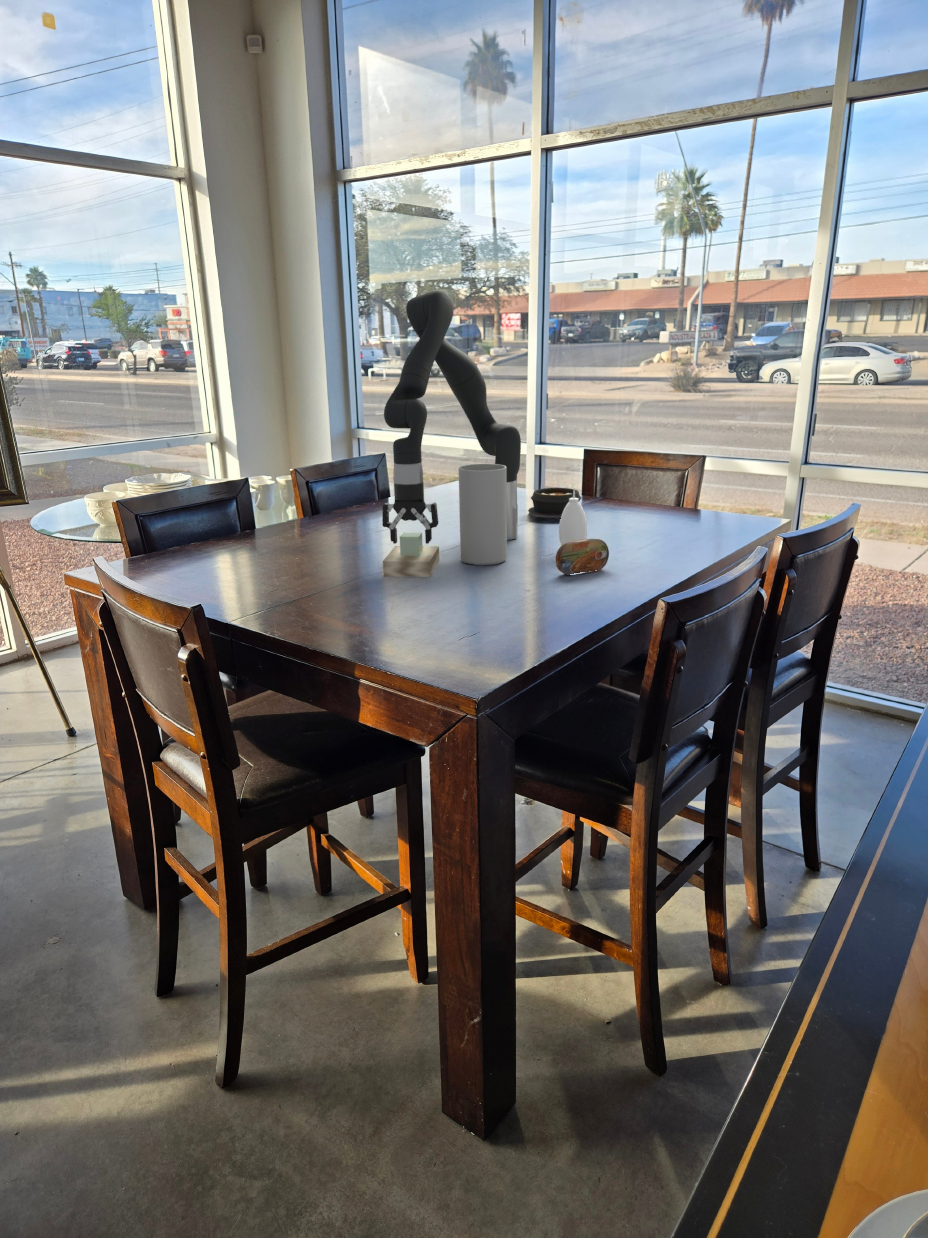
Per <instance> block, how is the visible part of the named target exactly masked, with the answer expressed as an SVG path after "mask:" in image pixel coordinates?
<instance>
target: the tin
mask: <svg viewBox="0 0 928 1238" xmlns="http://www.w3.org/2000/svg"><path fill="white" fill-rule="evenodd" d="M609 557H610V551H609V546H608V545H607V543H606V542H605V541H604V540H602V539H599V538H587V539H586V540H580V541H574V542H568V543H565V544H563V545H561V546H560V547H559V548H558V549H557V551H556V554H555V565H556V568H557V569H558V571H559V572H561V574H564V575H567V576H569V575H570V574H574V573H580V572H589V571H595V570H599V571H601V570H602V569H603V568H605V566H606V565H607V563H608V560H609Z"/></svg>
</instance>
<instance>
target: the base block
mask: <svg viewBox="0 0 928 1238" xmlns="http://www.w3.org/2000/svg"><path fill="white" fill-rule="evenodd" d="M439 562H440V546H439V545H437V546H436V545H431V546H430V545H428V546H427V545H423V552H422V553H421V555H420V556H401V555H400V545H395V546H394V547H392V549H391V550H390V552H389V553H388V554H387V555H386V556H385V558H384V559H383V560H382V566H383V567H382V570H383V573H382V575H383V577H394V578H396V577H399V578H401V577H403V578H404V577H405V578H412V577H413V578H414V577H417V578H430V577H431V576H432V574H433V573H434V571H435V569H436V567H437V566H438V564H439Z"/></svg>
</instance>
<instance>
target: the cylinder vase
mask: <svg viewBox="0 0 928 1238" xmlns="http://www.w3.org/2000/svg"><path fill="white" fill-rule="evenodd" d="M458 494H459V495H458V497H459V500H458V503H459V506H458V507H459V508H458V509H459V543H460V544H459V545H460V546H459V548H460V549H459V550H460V560H461V561H462V562H463V563H465V564H467V563H468V565H471V564H473V566H493V565H499V564H501V563H504V562H505V561H506V560H507V557H508V555H507V553H508V544H507V542H508V540H507V477H506V466H504V465H499V464H495V463H473V464H465V465H460V466H458Z"/></svg>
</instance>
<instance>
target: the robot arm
mask: <svg viewBox="0 0 928 1238" xmlns="http://www.w3.org/2000/svg"><path fill="white" fill-rule="evenodd" d="M405 308H406V310H405V311H406V316H407V319H408V322H409V324H410V326H411V327H412V329H413V330H414V332H415V334H416V335H417V337H418V338H419V339H418V341H417V342H416V344H415V345H414V346H413V348H412V349H411V350H410V352H409V353H408V355H407V357H406V359H405V361H404V364H403V366H402V369H401V370H402V371H401V374H400V377H399V382H398V383H397V385H396V386H395V388H394V389H393V392H392V393H391V395H390V396H389V397H388V399H387V401H386V404H385V406H384V410H383V418H384V421H385V423H386V425H387V426H388V427H389V428H391V429H406V430H407V429H409V434H408V435H407V436H406V437H401V438H398V439H397V438H396V439H395V440H394V441H393V442H392V443H393V444H392V449H393V451H392V452H393V474H392V475H393V476H392V477H393V478H392V479H393V493H394V494H393V495H394V502H393V503H389V502H385V503H384V504H383V505H382V514H381V515H382V527H383V528H387V529H389V532H390V533H389V535H390V541H391V542H392V543H393V544H394V545H395V544H397V543H398V528H397V525H398V523H399V522H400V521H401V520H402V521H404V522H406V521H413V522H414V521H415V522H416V521H419V522H420V523H421V524H422V526H423V527H424V528H425V530H424V538H425V541H424V542H425V544H427V545H428V544H429V543H430V542H431V541H432V539H433V536H432V534H433V532H432V531H433V530H432V529H434V528H437V527H438V525H439V514H438V506H437V505H438V504H437V502H435V501H434V502H432V503H426V502H425V487H424V469H423V462H422V461H423V460H422V443H423V442H422V441H423V436H424V431H425V428H426V423H427V418H428V410H427V406H426V405H425V403H424V401H422V400H421V398H423V397H424V396H425V394H426V391H427V389H428V385H429V380H430V377H431V376H430V375H431V372H432V368H433V366H434V362H435V363H436V365H437V366H438V368H439V370H440V371H441V373H442V375H443V376H444V379H445V380H446V382H447V385H448V386H449V388H450V389H451V391H452V393H453V395H454V396H455V399H456V400H457V401H458V403H459V405H460V406H461V409H462V410H463V412H464V414H465V416H466V418H467V419H468V421H469V423H470V426H471V427H472V429H473V432H474V435H475V437H476V439H477V441H478V442H477V443H479V445H480V448H481V450H483V452H484V453H486V454H487V455H489V456H492V457H494V458H495V459H494V464H499V465H504V466H506V477H507V541H508V540H517V538H518V530H519V529H518V524H519V523H518V512H519V511H518V474H519V471H520V466H521V452H522V451H521V448H522V439H521V435H520V431H519V429H517V427H516V426H514V425H510V424H503V423H498V422H497V421H496V419H495V418H494V416H493V414H492V413H491V411H490V409H489V406H488V403H487V401H488V400H487V386H486V385H487V384H486V382H485V381H486V380H485V378H484V376H483V375H482V373H481V371H480V370H479V367H478V365H477V364H476V362H475V361H474V360H473V359H472V358H471V356H469V355H468V354H466V353H465V352H464V351H462V350H461V349H459V348H457V347H456V346H455V345H453V344H452V343H450V341H449V340H447V339H446V338H445V337H446V334H447V332H448V330H449V328H450V325H451V324H452V320H453V319H454V317H453V316H454V305H453V300H452V298H451V297H450V295H449V294H448V293H447V292H446V291H445V290H442V289H436V290H431V291H428V292H425V293H423V294H419V295H417V296H415V297H412V298H410V299H409V300H408V301H407V303H406V307H405ZM392 509H393V510H394V512H395V513H396V514H397V515H396V516H395V518H394V519H393V521H392V522H390V512H392ZM426 509H427V510H428V512H429V513H430V514H431V522H430V521H429V519H428V518H427V516H426V515H425V514H424V511H425V510H426Z"/></svg>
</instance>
